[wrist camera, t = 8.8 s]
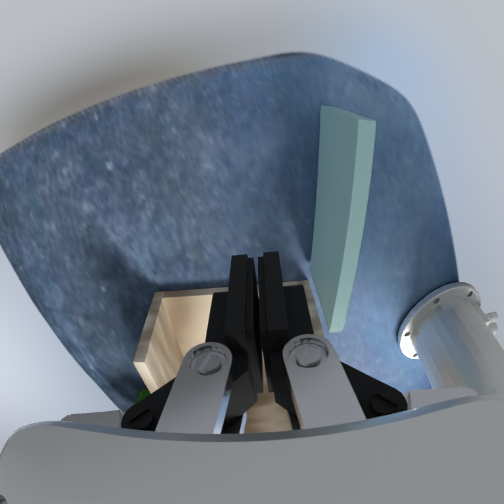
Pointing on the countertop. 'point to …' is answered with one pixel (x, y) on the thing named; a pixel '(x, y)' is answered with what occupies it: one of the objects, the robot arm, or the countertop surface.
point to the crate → (193, 333)
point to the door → (340, 207)
